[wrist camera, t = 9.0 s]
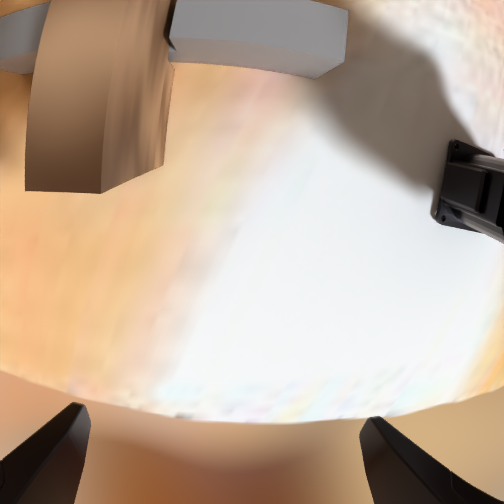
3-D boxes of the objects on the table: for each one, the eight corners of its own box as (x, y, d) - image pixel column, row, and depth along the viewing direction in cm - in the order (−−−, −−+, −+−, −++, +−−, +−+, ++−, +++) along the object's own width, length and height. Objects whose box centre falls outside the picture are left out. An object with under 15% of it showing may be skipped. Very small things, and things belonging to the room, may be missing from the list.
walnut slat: (163, 165, 18) (100, 193, 8) (117, 162, 17) (25, 191, 8) (201, -54, 12) (191, -149, 3) (158, -53, 12) (125, -140, 3)
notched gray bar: (320, 37, 16) (348, 10, 11) (315, 79, 17) (344, 62, 12) (30, 36, 13) (-10, 21, 9) (22, 74, 14) (-21, 66, 10)
